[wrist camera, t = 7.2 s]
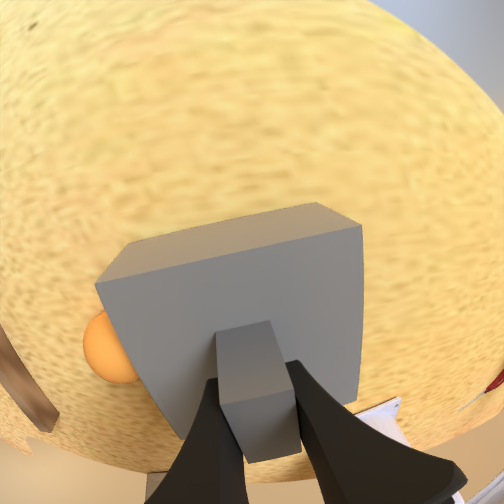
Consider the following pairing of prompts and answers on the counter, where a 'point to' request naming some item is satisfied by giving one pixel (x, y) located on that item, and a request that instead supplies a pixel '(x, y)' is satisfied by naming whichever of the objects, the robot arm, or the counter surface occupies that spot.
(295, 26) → the counter surface
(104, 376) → the ball
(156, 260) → the grey stemmed block
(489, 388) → the scissors
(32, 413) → the stopper
